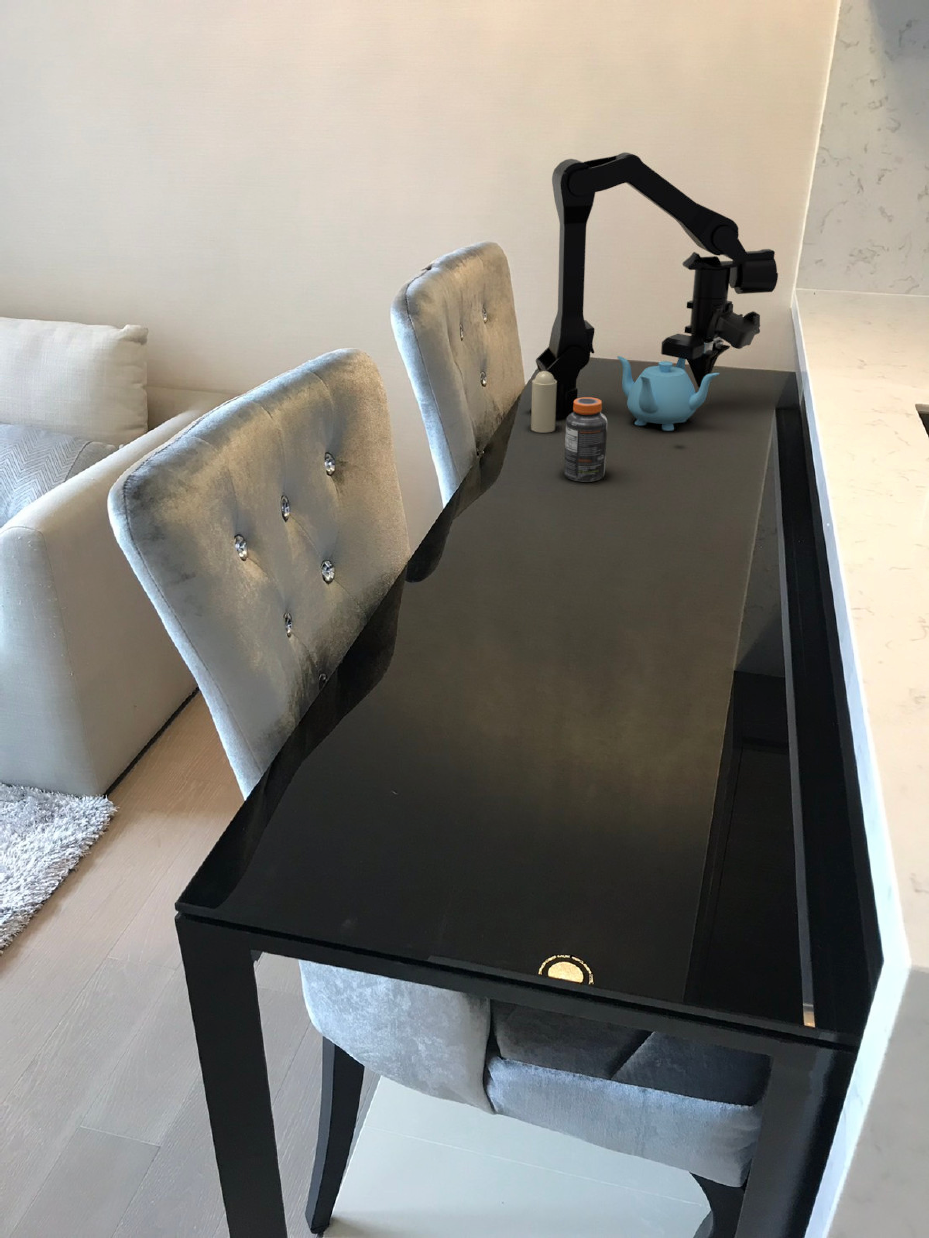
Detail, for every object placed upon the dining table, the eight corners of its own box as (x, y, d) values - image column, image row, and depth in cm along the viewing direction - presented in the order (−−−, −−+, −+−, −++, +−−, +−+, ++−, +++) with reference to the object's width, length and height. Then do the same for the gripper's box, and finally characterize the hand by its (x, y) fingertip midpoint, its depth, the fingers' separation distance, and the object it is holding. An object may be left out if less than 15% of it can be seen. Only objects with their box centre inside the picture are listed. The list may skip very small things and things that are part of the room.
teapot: (612, 413, 173) (615, 354, 168) (684, 407, 175) (690, 349, 170) (636, 437, 162) (641, 375, 157) (714, 431, 164) (721, 370, 159)
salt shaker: (525, 429, 165) (527, 371, 161) (541, 423, 168) (543, 366, 163) (544, 434, 163) (546, 376, 158) (560, 428, 165) (562, 371, 161)
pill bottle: (608, 470, 149) (613, 396, 143) (599, 485, 144) (604, 408, 138) (569, 466, 150) (572, 392, 145) (559, 480, 145) (562, 404, 140)
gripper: (722, 313, 156) (713, 410, 163) (782, 292, 167) (770, 383, 175) (662, 303, 162) (655, 397, 170) (723, 283, 174) (714, 372, 182)
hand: (701, 387), depth 174 cm, fingers closed
